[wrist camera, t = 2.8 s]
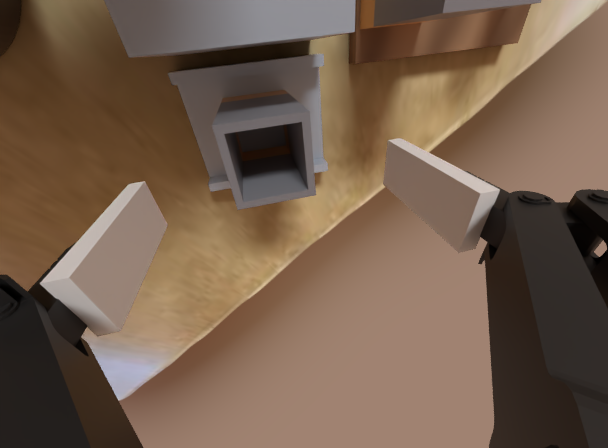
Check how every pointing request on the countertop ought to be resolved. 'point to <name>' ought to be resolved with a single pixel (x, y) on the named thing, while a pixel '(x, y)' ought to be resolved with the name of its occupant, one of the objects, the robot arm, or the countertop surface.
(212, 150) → the feeder
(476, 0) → the seated sleeve
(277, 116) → the sleeve
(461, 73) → the countertop surface
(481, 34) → the pinboard
